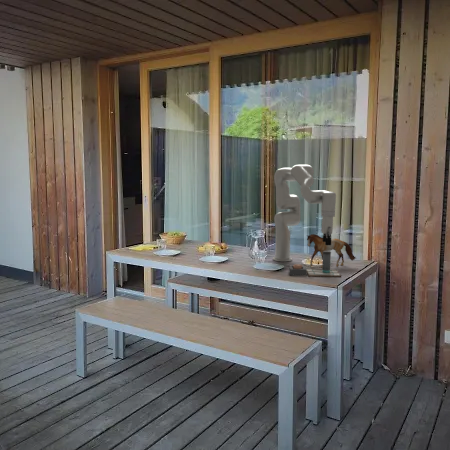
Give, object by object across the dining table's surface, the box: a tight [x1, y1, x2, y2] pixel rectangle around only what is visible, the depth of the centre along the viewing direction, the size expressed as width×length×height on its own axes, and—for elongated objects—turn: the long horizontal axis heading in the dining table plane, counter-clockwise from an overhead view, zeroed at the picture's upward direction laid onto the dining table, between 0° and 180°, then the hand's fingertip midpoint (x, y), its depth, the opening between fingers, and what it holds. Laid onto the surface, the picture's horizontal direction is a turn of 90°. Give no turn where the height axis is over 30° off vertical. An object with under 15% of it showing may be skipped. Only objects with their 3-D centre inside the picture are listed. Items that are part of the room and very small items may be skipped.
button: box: [292, 263, 303, 269], centre depth 268 cm, size 5×5×2 cm
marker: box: [321, 251, 332, 273], centre depth 267 cm, size 5×5×12 cm
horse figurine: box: [306, 233, 357, 268], centre depth 286 cm, size 31×8×21 cm, turn 96°
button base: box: [288, 265, 308, 276], centre depth 268 cm, size 9×9×4 cm
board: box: [306, 268, 342, 278], centre depth 268 cm, size 15×18×1 cm
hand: (326, 243), depth 266 cm, fingers open, 9 cm apart
